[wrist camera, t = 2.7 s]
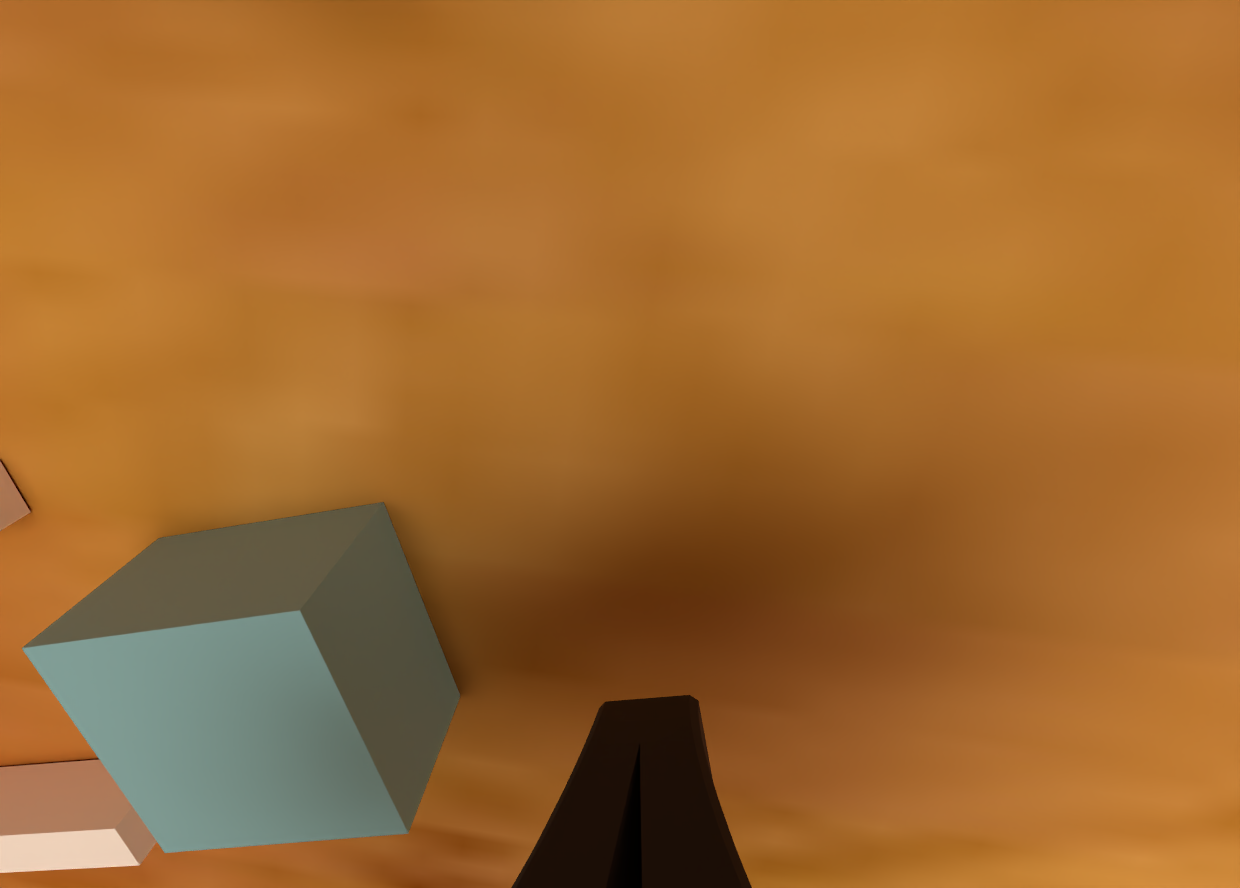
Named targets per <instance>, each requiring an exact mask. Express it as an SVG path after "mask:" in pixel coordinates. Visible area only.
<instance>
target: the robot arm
mask: <svg viewBox="0 0 1240 888" xmlns="http://www.w3.org/2000/svg"><path fill="white" fill-rule="evenodd" d="M512 888H752V887H751V885H750V882H749V880H748V877H747V875H746V873H745V870H744V868H743V865H742V863H741V860H740V858H739V855H738V852H737V850H736V847H735V845H734V842H733V839H732V836H731V834H730V831H729V828H728V825H727V822H726V819H725V817H724V814H723V811H722V808H721V805H720V802H719V800H718V796H717V793H716V790H715V787H714V784H713V779H712V774H711V768H710V763H709V757H708V751H707V746H706V740H705V735H704V729H703V724H702V718H701V713H700V707H699V701H698V700H696V699H695V698H693V697H692V696H690V695H683V696H671V697H659V698H646V699H634V700H621V701H609V702H605V703H604V704H603V705H602V706H601V707H600V708H599V710H598V713H597V715H596V718H595V721H594V723H593V726H592V728H591V731H590V733H589V735H588V738H587V740H586V743H585V745H584V747H583V749H582V752H581V754H580V756H579V758H578V761H577V763H576V765H575V767H574V769H573V772H572V774H571V776H570V778H569V780H568V782H567V784H566V787H565V789H564V791H563V793H562V795H561V797H560V799H559V801H558V803H557V805H556V807H555V808H554V810H553V812H552V814H551V816H550V818H549V820H548V822H547V824H546V826H545V828H544V830H543V832H542V834H541V836H540V838H539V840H538V842H537V844H536V846H535V847H534V849H533V851H532V853H531V855H530V856H529V858H528V860H527V862H526V863H525V865H524V867H523V869H522V870H521V872H520V874H519V876H518V877H517V879H516V881H515V883H514V884H513V886H512Z"/></svg>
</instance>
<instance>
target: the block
mask: <svg viewBox="0 0 1240 888" xmlns="http://www.w3.org/2000/svg"><path fill="white" fill-rule="evenodd" d="M22 649H23V651H24V652H25V654H26V655H27V656H28V658H29V659H30V661H31V662H32V664H33V665H34V666H35V668H36V669H37V671H38V672H39V674H40V675H41V676H42V678H43V679H44V681H45V682H46V684H47V685H48V686H49V688H50V689H51V691H52V692H53V694H54V695H55V696H56V698H57V699H58V701H59V702H60V704H61V705H62V706H63V708H64V709H65V711H66V712H67V714H68V715H69V716H70V718H71V719H72V721H73V722H74V724H75V725H76V726H77V728H78V729H79V731H80V732H81V734H82V735H83V736H84V738H85V739H86V741H87V742H88V744H89V745H90V747H91V748H92V749H93V751H94V752H95V754H96V755H97V757H98V758H99V759H100V761H101V762H102V764H103V765H104V767H105V768H106V769H107V771H108V772H109V774H110V775H111V777H112V778H113V779H114V781H115V782H116V784H117V785H118V787H119V788H120V789H121V791H122V792H123V794H124V795H125V797H126V798H127V799H128V801H129V802H130V804H131V805H132V807H133V808H134V809H135V811H136V812H137V814H138V815H139V817H140V818H141V819H142V821H143V822H144V824H145V825H146V827H147V828H148V829H149V831H150V832H151V834H152V835H153V837H154V838H155V839H156V841H157V842H158V844H159V845H160V847H161V848H162V849H163V851H164V852H165V853H169V852H182V851H194V850H207V849H219V848H232V847H245V846H257V845H270V844H282V843H295V842H308V841H320V840H333V839H345V838H358V837H371V836H383V835H396V834H408V833H409V830H410V828H411V825H412V822H413V820H414V817H415V814H416V812H417V809H418V807H419V804H420V801H421V799H422V796H423V793H424V791H425V788H426V785H427V783H428V780H429V778H430V775H431V772H432V770H433V767H434V764H435V762H436V759H437V756H438V754H439V751H440V749H441V746H442V743H443V741H444V738H445V735H446V733H447V730H448V728H449V725H450V722H451V720H452V717H453V714H454V712H455V709H456V706H457V704H458V701H459V699H460V694H459V691H458V689H457V686H456V684H455V681H454V679H453V676H452V674H451V671H450V669H449V666H448V663H447V661H446V658H445V656H444V653H443V651H442V648H441V646H440V643H439V641H438V638H437V636H436V633H435V631H434V628H433V626H432V623H431V621H430V618H429V616H428V613H427V611H426V608H425V606H424V603H423V600H422V598H421V595H420V593H419V590H418V588H417V585H416V583H415V580H414V578H413V575H412V573H411V570H410V568H409V565H408V563H407V560H406V558H405V555H404V553H403V550H402V548H401V545H400V543H399V540H398V537H397V535H396V532H395V530H394V527H393V525H392V522H391V520H390V517H389V515H388V512H387V510H386V507H385V505H384V502H381V503H375V504H369V505H363V506H356V507H350V508H344V509H338V510H331V511H325V512H319V513H313V514H306V515H300V516H294V517H288V518H281V519H275V520H269V521H263V522H256V523H250V524H244V525H237V526H231V527H225V528H219V529H212V530H206V531H200V532H194V533H187V534H181V535H175V536H169V537H162V538H158V539H157V540H156V541H155V542H153V543H152V544H151V545H150V546H148V547H147V548H146V549H145V550H143V551H142V552H141V553H140V554H138V555H137V556H136V557H135V558H133V559H132V560H131V561H130V562H128V563H127V564H126V565H125V566H123V567H122V568H121V569H120V570H118V571H117V572H116V573H115V574H114V575H112V576H111V577H110V578H109V579H107V580H106V581H105V582H104V583H102V584H101V585H100V586H99V587H97V588H96V589H95V590H94V591H92V592H91V593H90V594H89V595H87V596H86V597H85V598H84V599H82V600H81V601H80V602H79V603H77V604H76V605H75V606H74V607H72V608H71V609H70V610H69V611H67V612H66V613H65V614H64V615H63V616H61V617H60V618H59V619H58V620H56V621H55V622H54V623H53V624H51V625H50V626H49V627H48V628H46V629H45V630H44V631H43V632H41V633H40V634H39V635H38V636H36V637H35V638H34V639H33V640H31V641H30V642H29V643H28V644H26V645H25V646H24V647H23V648H22Z"/></svg>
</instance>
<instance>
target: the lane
mask: <svg viewBox="0 0 1240 888" xmlns="http://www.w3.org/2000/svg"><path fill="white" fill-rule="evenodd" d="M29 513H30V510H29V508H28V507H27V505H26V503H25V502H24V500H23V498H22V497H21V495H20V493H19V492H18V490H17V488H16V487H15V485H14V483H13V482H12V480H11V478H10V477H9V475H8V473H7V472H6V470H5V468H4V467H3V465H2V463H1V462H0V531H1V530H2V529H4V528H6V527H7V526H9V525H11V524H12V523H14V522H16V521H17V520H19V519H21V518H22V517H24V516H25V515H27V514H29ZM156 842H157V841H156V839H155V838H154V837H153V835H152V834H151V832H150V831H149V829H148V828H147V827H146V825H145V824H144V822H143V821H142V819H141V818H140V817H139V815H138V814H137V812H136V811H135V809H134V808H133V807H132V805H131V804H130V802H129V801H128V799H127V798H126V797H125V795H124V794H123V792H122V791H121V789H120V788H119V787H118V785H117V784H116V782H115V781H114V779H113V778H112V777H111V775H110V774H109V772H108V771H107V769H106V768H105V767H104V765H103V764H102V762H101V761H100V759H99V760H86V761H73V762H60V763H48V764H35V765H22V766H9V767H0V873H4V872H23V871H42V870H61V869H80V868H98V867H117V866H136V865H140V864H141V863H142V861H143V860H144V859H145V857H146V856H147V855H148V853H149V852H150V850H151V849H152V848H153V846H154V845H155V844H156Z"/></svg>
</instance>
